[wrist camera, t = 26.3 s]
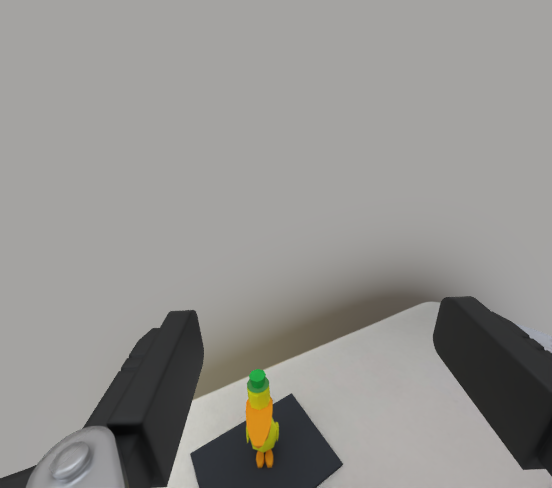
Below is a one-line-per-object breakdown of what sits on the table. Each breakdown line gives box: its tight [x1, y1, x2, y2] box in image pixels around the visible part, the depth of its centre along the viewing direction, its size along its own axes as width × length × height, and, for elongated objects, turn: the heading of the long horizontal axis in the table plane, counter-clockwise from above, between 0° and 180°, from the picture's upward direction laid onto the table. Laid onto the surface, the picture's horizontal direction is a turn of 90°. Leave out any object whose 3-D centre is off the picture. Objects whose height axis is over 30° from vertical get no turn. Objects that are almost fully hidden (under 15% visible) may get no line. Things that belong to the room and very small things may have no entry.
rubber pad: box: [191, 393, 343, 488], centre depth 30 cm, size 14×10×1 cm
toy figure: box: [246, 369, 279, 468], centre depth 27 cm, size 7×4×12 cm, turn 2°
